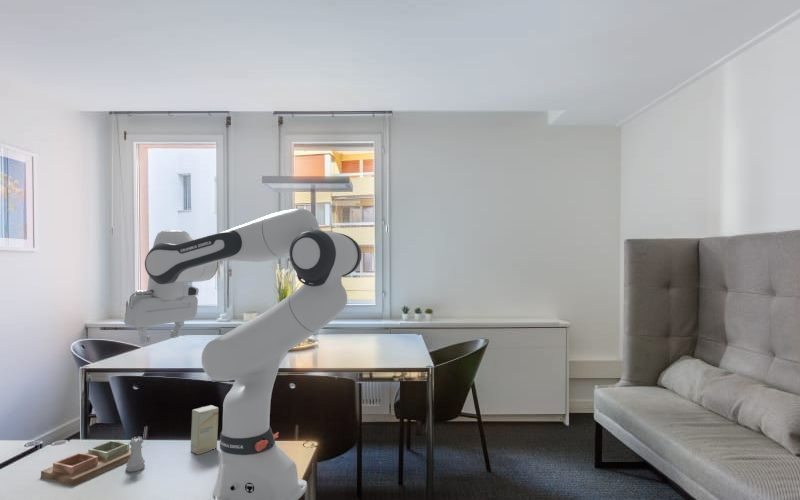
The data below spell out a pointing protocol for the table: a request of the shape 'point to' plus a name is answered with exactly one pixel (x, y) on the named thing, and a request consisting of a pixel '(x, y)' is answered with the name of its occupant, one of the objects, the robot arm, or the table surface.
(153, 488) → the table surface
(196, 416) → the skincare box
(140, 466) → the rook chess piece
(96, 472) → the board
